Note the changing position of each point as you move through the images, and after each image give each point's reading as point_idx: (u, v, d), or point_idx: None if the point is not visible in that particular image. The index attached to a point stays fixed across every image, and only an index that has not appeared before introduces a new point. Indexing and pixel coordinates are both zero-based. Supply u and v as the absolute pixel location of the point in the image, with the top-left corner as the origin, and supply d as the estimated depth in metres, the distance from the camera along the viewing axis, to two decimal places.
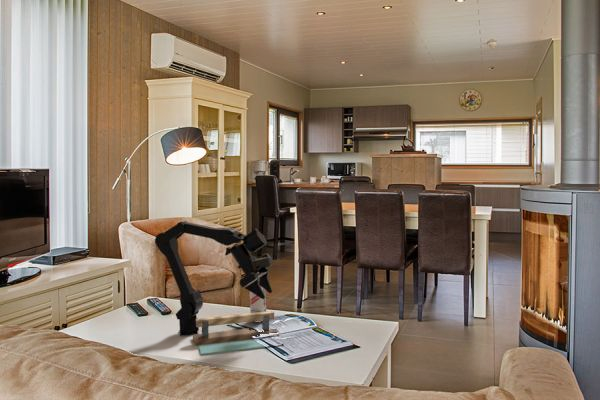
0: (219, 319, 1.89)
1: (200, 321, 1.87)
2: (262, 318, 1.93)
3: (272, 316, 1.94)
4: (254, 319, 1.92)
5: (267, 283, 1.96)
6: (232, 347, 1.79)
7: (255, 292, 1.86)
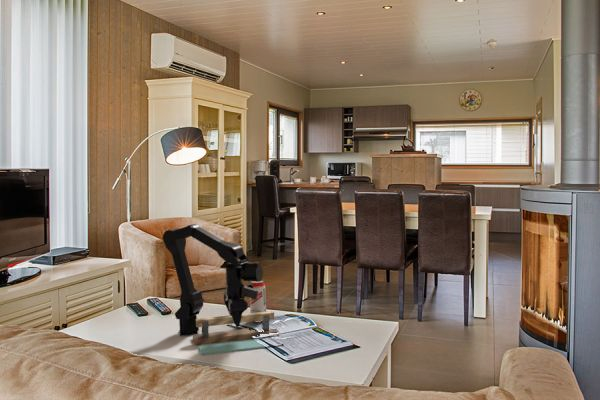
0: (219, 319, 1.89)
1: (200, 321, 1.87)
2: (262, 318, 1.93)
3: (272, 316, 1.94)
4: (254, 319, 1.92)
5: None
6: (232, 347, 1.79)
7: (235, 318, 1.86)
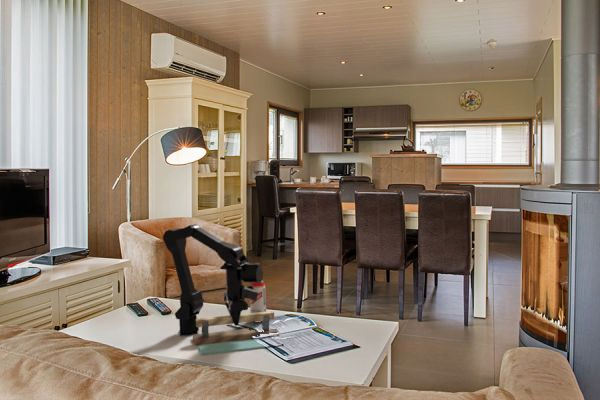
0: (219, 319, 1.89)
1: (200, 321, 1.87)
2: (262, 318, 1.93)
3: (272, 316, 1.94)
4: (254, 319, 1.92)
5: None
6: (232, 347, 1.79)
7: (233, 317, 1.89)
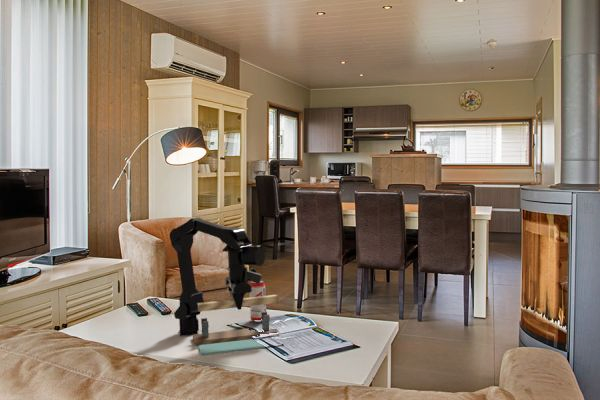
0: (222, 303, 1.83)
1: (202, 305, 1.81)
2: (266, 302, 1.88)
3: (276, 299, 1.89)
4: (257, 303, 1.87)
5: None
6: (232, 347, 1.79)
7: (236, 300, 1.83)
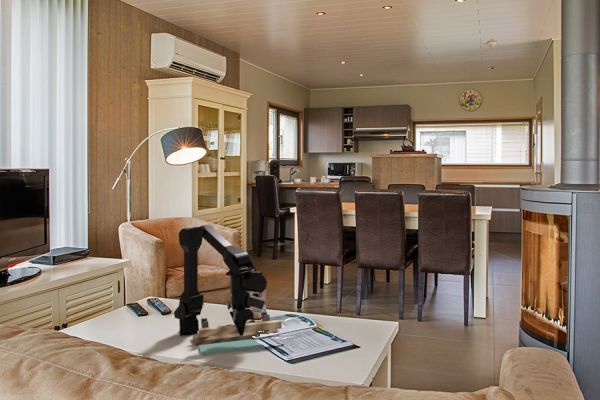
0: (223, 329, 1.79)
1: (203, 331, 1.77)
2: (269, 327, 1.83)
3: (279, 325, 1.84)
4: (260, 329, 1.82)
5: None
6: (232, 347, 1.79)
7: (238, 326, 1.79)
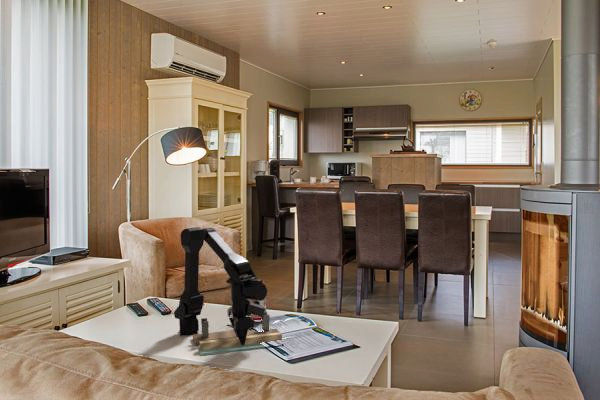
0: (224, 341, 1.79)
1: (204, 344, 1.77)
2: (269, 340, 1.83)
3: (280, 338, 1.84)
4: (261, 341, 1.82)
5: None
6: (232, 347, 1.79)
7: (240, 336, 1.77)
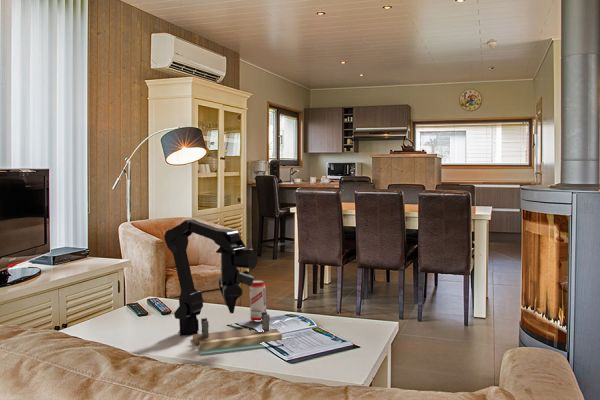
0: (224, 341, 1.79)
1: (204, 344, 1.77)
2: (269, 340, 1.83)
3: (280, 338, 1.84)
4: (261, 341, 1.82)
5: None
6: (232, 347, 1.79)
7: (229, 304, 1.82)
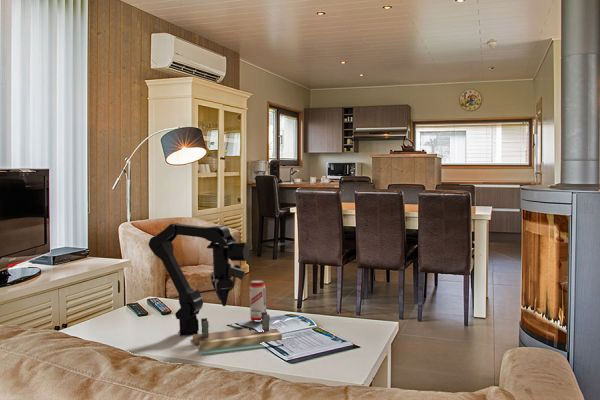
0: (224, 341, 1.79)
1: (204, 344, 1.77)
2: (269, 340, 1.83)
3: (280, 338, 1.84)
4: (261, 341, 1.82)
5: None
6: (232, 347, 1.79)
7: (221, 297, 1.88)
